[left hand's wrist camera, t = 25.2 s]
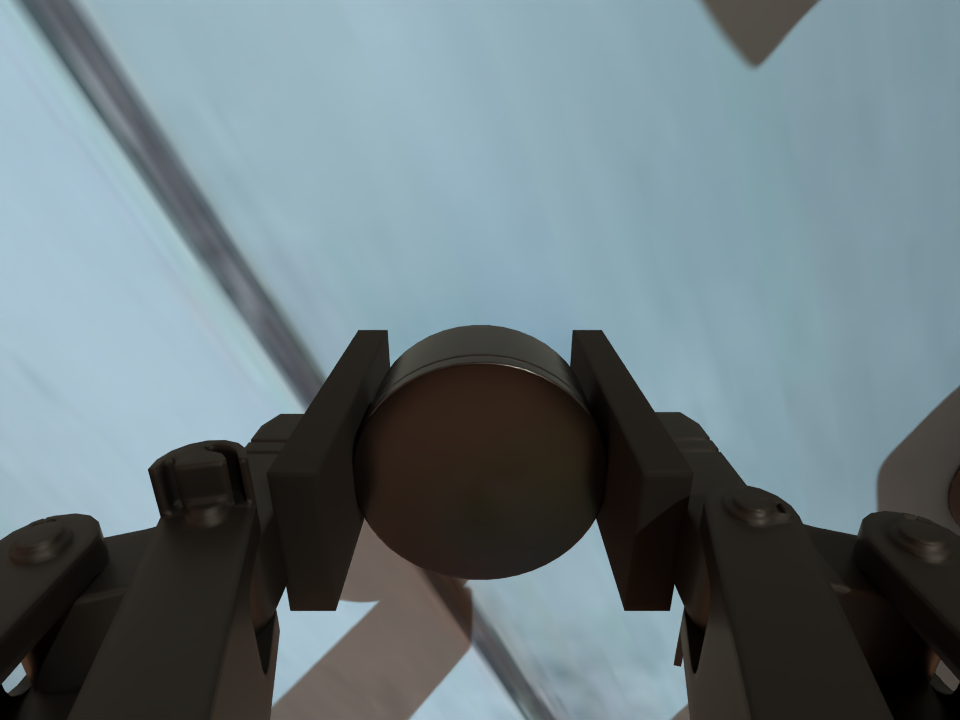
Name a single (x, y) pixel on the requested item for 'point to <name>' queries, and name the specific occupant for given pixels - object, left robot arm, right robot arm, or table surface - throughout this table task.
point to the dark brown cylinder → (955, 498)
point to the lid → (480, 455)
